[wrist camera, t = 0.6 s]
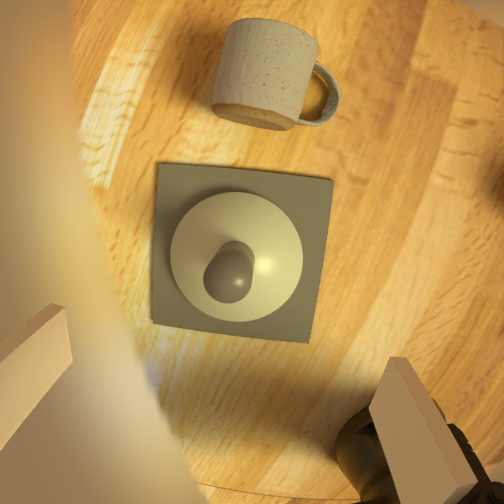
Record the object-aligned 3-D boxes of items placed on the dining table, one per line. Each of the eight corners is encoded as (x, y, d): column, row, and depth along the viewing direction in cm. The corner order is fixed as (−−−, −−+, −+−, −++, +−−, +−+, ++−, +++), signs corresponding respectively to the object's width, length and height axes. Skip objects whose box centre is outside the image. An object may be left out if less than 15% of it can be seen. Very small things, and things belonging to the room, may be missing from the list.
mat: (308, 341, 32) (308, 343, 32) (154, 321, 32) (152, 323, 32) (333, 180, 29) (334, 180, 28) (160, 163, 29) (159, 163, 28)
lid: (292, 323, 31) (297, 361, 24) (171, 308, 32) (148, 341, 25) (309, 199, 29) (322, 206, 22) (177, 186, 29) (151, 189, 22)
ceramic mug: (214, 123, 28) (197, 105, 20) (233, 45, 26) (224, 8, 19) (328, 147, 28) (349, 137, 21) (342, 68, 26) (365, 38, 19)
